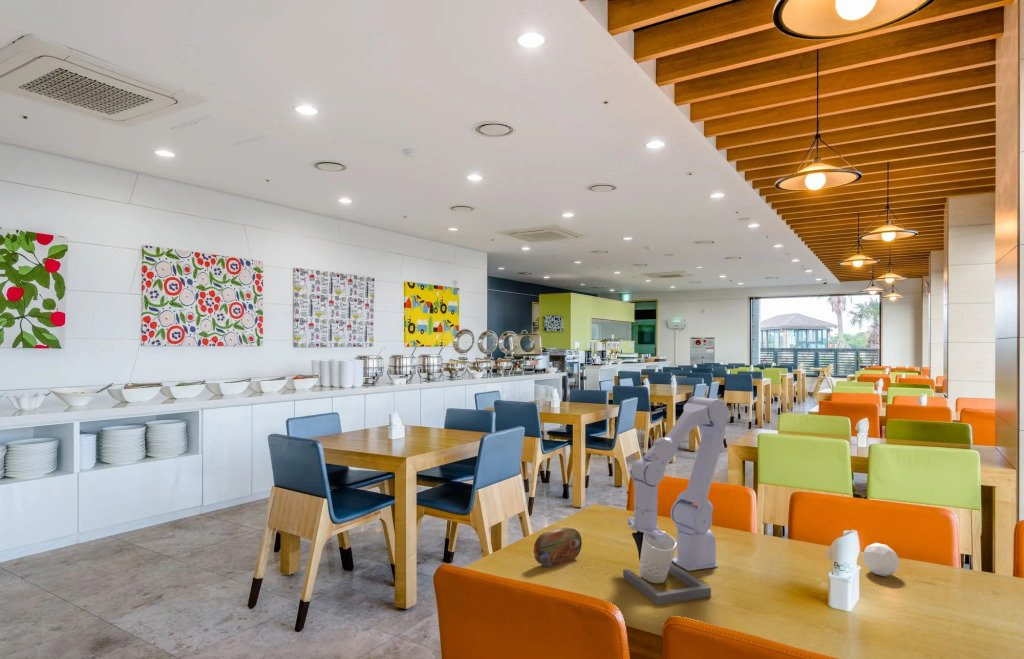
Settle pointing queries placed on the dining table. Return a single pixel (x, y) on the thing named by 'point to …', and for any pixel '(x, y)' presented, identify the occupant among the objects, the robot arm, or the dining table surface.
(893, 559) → the geometric ball
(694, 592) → the gray u-shaped frame
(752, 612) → the dining table surface
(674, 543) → the white cup
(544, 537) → the tin
